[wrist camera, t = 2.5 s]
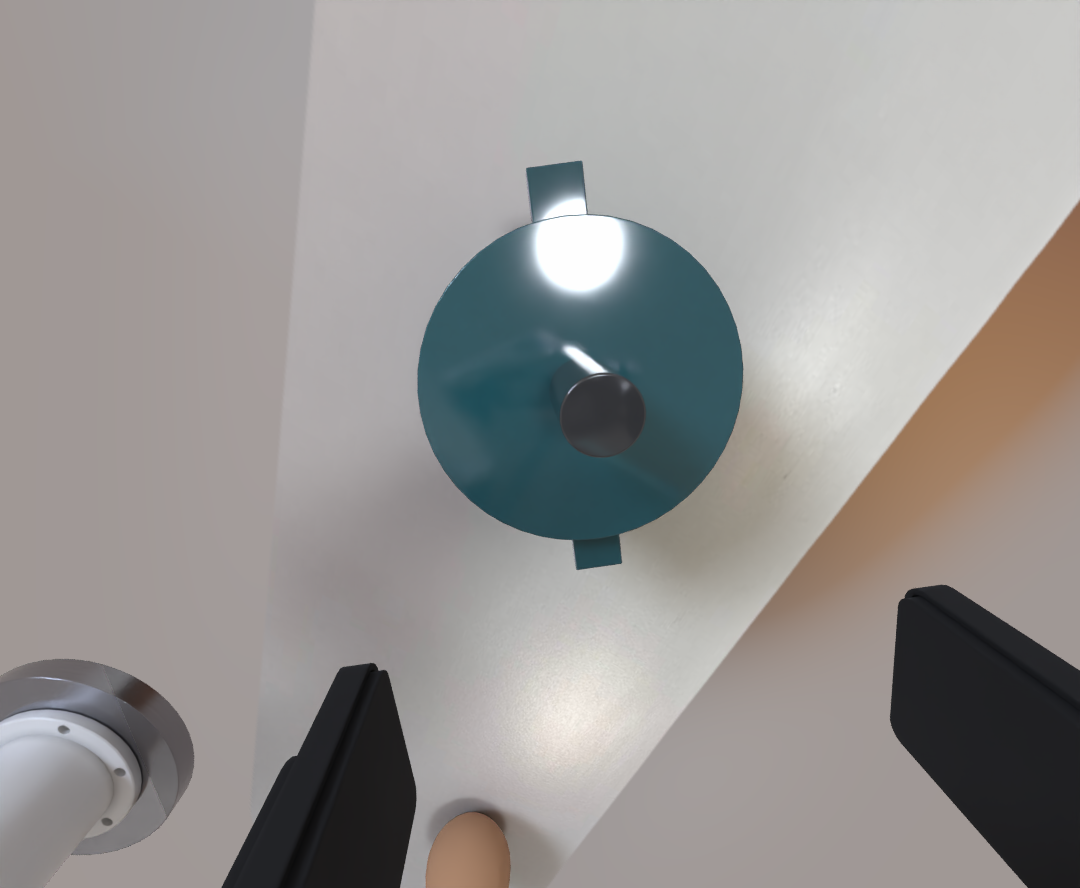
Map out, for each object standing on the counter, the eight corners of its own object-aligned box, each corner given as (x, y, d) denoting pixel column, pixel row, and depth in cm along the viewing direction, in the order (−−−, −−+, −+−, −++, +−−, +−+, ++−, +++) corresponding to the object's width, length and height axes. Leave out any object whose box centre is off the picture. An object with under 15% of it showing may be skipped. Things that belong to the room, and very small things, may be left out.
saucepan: (481, 512, 36) (468, 593, 26) (430, 222, 31) (389, 181, 21) (672, 484, 36) (734, 555, 26) (652, 192, 31) (720, 137, 21)
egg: (419, 809, 42) (398, 925, 34) (488, 779, 42) (482, 889, 34) (457, 860, 44) (444, 982, 36) (524, 831, 44) (526, 948, 36)
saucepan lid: (451, 549, 26) (431, 630, 19) (391, 242, 22) (341, 215, 15) (737, 509, 26) (810, 575, 19) (728, 196, 22) (815, 152, 16)
